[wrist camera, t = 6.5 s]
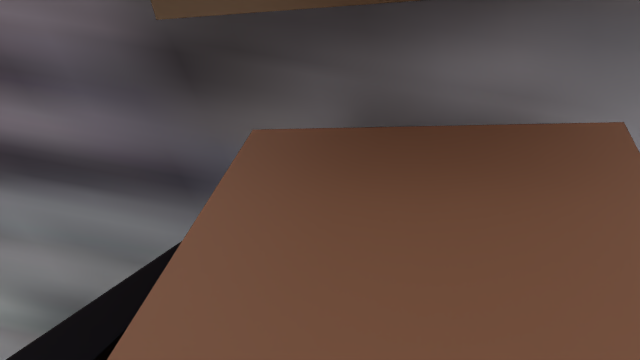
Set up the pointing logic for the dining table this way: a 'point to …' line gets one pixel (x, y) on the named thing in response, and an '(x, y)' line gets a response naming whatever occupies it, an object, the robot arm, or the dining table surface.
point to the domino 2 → (408, 249)
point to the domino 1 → (244, 6)
